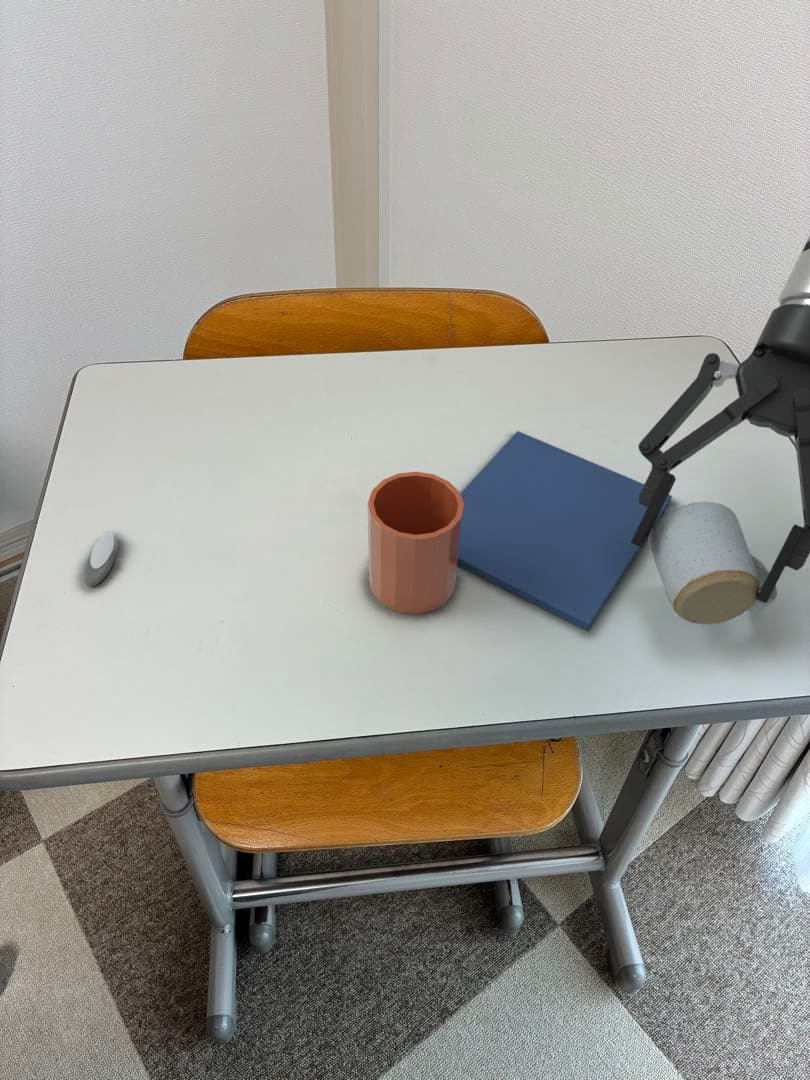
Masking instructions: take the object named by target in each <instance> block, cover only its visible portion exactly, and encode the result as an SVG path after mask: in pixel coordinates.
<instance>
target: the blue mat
mask: <svg viewBox="0 0 810 1080" xmlns="http://www.w3.org/2000/svg"><path fill="white" fill-rule="evenodd" d="M644 484H645V483H642V482H640V481H638V480H635V479H633V478H630V477H628V476H626V475H623V474H621V473H618V472H616V471H614V470H612V469H609V468H606V467H605V466H602V465H600V464H597V463H595V462H593V461H590V460H588V459H585V458H583V457H580V456H578V455H576V454H573V453H571V452H569V451H567V450H564V449H563V448H559V447H557V446H554V445H552V444H550V443H548V442H545V441H543V440H540V439H538V438H536V437H533V436H531V435H528V434H527V433H524V432H521V431H519V430H517V431H516V432H515V433H514V434H513V435H512V436H511V438H509V440H508V441H506V443H505V444H504V445H502V447H501V448H500V450H498V452H497V453H495V455H494V456H493V457H492V458H491V459H490V460H489V461H488V462H487V464H486V465H485V466H484V467H483V468H482V469H481V470H480V471H479V472H478V474H477V475H476V476H475V477H474V478H473V479H472V480H471V481H470V482H469V483H468V484H467V485H466V486H465V488H464V489H463V490H462V491H460V494H461V497H462V500H463V503H464V512H463V522H462V531H461V540H460V549H459V558H458V567H461V568H462V569H465V570H467V571H468V572H471V573H472V574H474V575H476V576H478V577H480V578H482V579H483V580H486V581H488V582H490V583H492V584H494V585H495V586H498V587H499V588H502V589H504V590H506V591H508V592H510V593H512V594H514V595H516V596H517V597H520V598H522V599H523V600H525V601H527V602H530V603H531V604H534V605H535V606H537V607H539V608H541V609H543V610H545V611H547V612H549V613H551V614H553V615H555V616H557V617H559V618H560V619H563V620H565V621H567V622H569V623H571V624H573V625H575V626H576V627H579V628H580V629H582V630H584V631H588V630H589V629H590V627H591V625H593V622H594V621H595V620H596V618H597V617H598V615H599V613H600V612H601V610H602V609H603V608H604V606H605V604H606V603H607V601H608V599H609V598H610V596H611V595H612V593H613V592H614V590H615V589H616V587H617V586H618V584H619V582H620V581H621V579H622V578H623V576H624V574H626V572H627V570H628V569H629V567H630V565H631V564H632V562H633V561H634V559H635V557H636V556H637V555H638V553H639V551H640V550H641V547H639V546H637V545H634V544H633V543H631V541H632V539H633V537H634V535H635V533H636V531H637V529H638V526H639V524H640V522H641V520H642V518H643V516H644V514H645V512H646V510H647V508H648V507H646V506H644V505H642V504H640V503H639V495H640V493H641V491H642V488H643V486H644ZM672 498H673V496H672V495H671V494H669V495H668V497H667V499H666V501H665V503H664V505H663V507H662V509H661V511H660V513H659V515H658V517H657V519H656V521H655V523H654V525H655V524H656V522H657V521H658V520H659V519H660V518H661V517H662V516H663V514H664V512H665V511H666V510H667V508H668V507H669V505H670V503H671V500H672ZM654 525H653V526H654Z"/></svg>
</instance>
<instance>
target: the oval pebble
mask: <svg viewBox="0 0 810 1080" xmlns="http://www.w3.org/2000/svg"><path fill="white" fill-rule="evenodd" d="M117 541H118V540H117V538H116V536H115V533H114V532H113V531H112V530H107V531H105V532H103V533H102V535H101V536H100V537H99V539H98V540H97V541H96V543H95V544H94V546H93V548H92V551H91V553H90V555H89V556H88V558H87V560H86V564H85V569H84V579H85V582H86V585H88V586H90V587H95V586H98V584H100V583H101V582H102V581H103V580H104V579H105V577H106V576H107V575H108V573H109V572H110V570H111V569H112V567H113V565H114V562H115V558H116V554H117V547H118V542H117Z"/></svg>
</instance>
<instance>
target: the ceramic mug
mask: <svg viewBox="0 0 810 1080" xmlns="http://www.w3.org/2000/svg"><path fill="white" fill-rule="evenodd" d="M648 547H649V550H650V552H651V555H652V558H653V560H654V563H655V566H656V570H657V572H658V575H659V577H660V580H661V582H662V585H663V589H664V592H665V595H666V597H667V600H668V602H669V604H670V606H671V607H672V609H673V610H674V612H675V613H676V614H677V616H679V617H680V618H681V619H682V620H684V621H687V622H690V623H692V624H699V625H713V624H721V623H724V622H727V621H731V620H734V619H735V618H738V617H739V616H741V615H743V614H744V613H745V612H747V611H750V612H760V611H763V610H766V609H767V608H768V607H769V606H771V605H772V604H773V603H774V602H775V601H776V599H777V597H778V587H777V584H776V585H775V587H774V589H773V591H772V593H771V595H770V597H769V599H768V601H767V603H764V602H762V601H759V600H757V597H758V595H759V592H760V590H761V588H762V586H763V584H764V582H765V580H766V578H767V576H768V574H769V572H770V570H769V569H768V568H767V567H766V566H765V565H764V563H763V562H761V561H760V560H759V559H758V558H757V557H756V556H754V555H753V554H751V553H750V550H749V546H748V544H747V540H746V538H745V535H744V533H743V529H742V526H741V523H740V522H739V519H738V517H737V515H736V514H735V512H734V511H733V510H732V509H731V508H730V507H728V506H726V505H724V504H722V503H720V502H719V503H718V502H713V501H699V502H698V501H697V502H692V503H688V504H684V505H680V506H678V507H676V508H674V509H672V510H670V511H668V512H667V513H665V514H664V515H662V516H661V517H660V519H659V520H658V521H657V522H656V524H655V525H654V526H653V528H652V530H651V532H650V534H649V536H648Z"/></svg>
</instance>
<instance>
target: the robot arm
mask: <svg viewBox="0 0 810 1080" xmlns="http://www.w3.org/2000/svg"><path fill="white" fill-rule="evenodd" d="M794 263H795V264H794V266H793V268H792V270H791V272H790V274H789V276H788V277H787V281H786V282H785V284H784V286H783V288H782V291H781V293H780V295H779V297H778V304H779V306H778V307H775V308H774V309H773V310H772V311H771V313H770V315H769V317H768V319H767V321H766V323H765V325H764V327H763V330H762V331H761V332H760V335H759V337H758V339H757V342H756V344H755V346H754V348H753V350H752V352H751V353H750V355H749V356H748V357H747V358H745V360H743V361H742V362H741V363H736V362H732V361H729V360H726V359H722V358H720V356H719V354H717V353H715V352H711V353H708V354H707V355H706V356H705V357H704V359H703V362H702V364H701V367H700V369H699V372H698V374H697V377H696V378H695V379H694V380H693V382H692V383H691V384H690V385H689V386H688V387H687V388H686V389H685V391H684V392H683V393H682V394H681V395H680V396H679V397H678V399H676V401H675V402H674V403H673V404H672V405H671V407H670V408H669V409H668V410H667V411H666V412H665V413H664V414H663V415H662V416H661V418H660V419H659V420H658V421H657V422H656V424H654V426H653V427H652V428H651V429H650V430H649V431H648V433H647V434H646V435H645V436H644V437H643V438H642V439H641V441H639V444H638V446H637V447H638V451H639V452H640V454H641V455H642V456H643V458H645V459H646V460H647V461H648V462H649V463H650V464H651V469H650V472H649V474H648V476H647V478H646V479H645V482H644V483H643V484H644V486H643V488H642V491H641V493H640V495H639V503H640V504H642V505H644V506H646V507H648V508H647V510H646V512H645V514H644V516H643V518H642V520H641V522H640V524H639V526H638V529H637V531H636V533H635V535H634V537H633V539H632V541H631V543H633V544H634V545H637V546H639V547H641V548H642V549H643V548H644V546H645V544H646V542H647V540H648V539H649V536H650V532H651V530H652V528H653V525H654V523H655V521H656V519H657V517H658V515H659V513H660V511H661V509H662V507H663V505H664V503H665V501H666V499H667V497H668V495H670V493H671V490H672V489H673V487H674V485H675V482H676V481H677V478H676V477H675V475H674V474H672V473H670V472H671V471H672V470H674V469H675V468H677V467H678V466H679V465H681V464H682V463H684V462H686V461H687V460H688V459H689V458H691V457H692V456H694V455H695V454H697V453H698V452H700V451H701V450H702V449H704V448H705V447H707V446H709V444H711V443H712V442H714V441H716V440H717V439H718V438H719V437H721V436H722V435H724V434H725V433H727V432H729V430H731V429H732V428H735V427H737V426H738V425H740V424H741V423H743V422H744V421H746V420H747V421H748V422H749V424H750V425H753V426H756V427H759V428H767V429H771V430H772V431H773V432H775V433H776V434H778V435H780V436H783V437H786V438H788V437H794V445H795V451H796V460H797V468H798V477H799V485H800V486H799V488H800V495H801V496H800V497H801V506H802V516H803V527H802V526H800V525H798V524H794V525H792V526H791V529H790V531H789V533H788V535H787V537H786V539H785V541H784V543H783V544H782V547H781V549H780V551H779V552H778V554H777V557H776V559H775V561H774V562H773V565H772V567H771V568H770V570H769V574H768V576H767V578H766V580H765V582H764V584H763V586H762V588H761V590H759V595H758V597H757V600H759V601H762V602H764V603H767V601H768V599H769V597H770V595H771V593H772V591H773V589H774V587H775V585H776V586H777V583H778V582H779V579H780V577H781V575H782V574H783V572H784V570H785V568H786V567H787V568H789V569H791V570H794V571H796V572H797V571H799V570H800V569H802V567H804V566H805V563H806V562H807V559H808V557H809V556H810V235H809V237H808V239H807V241H806V243H805V244H804V246H803V248H802V251H801V253H800V254H799V256H798V257H797V259H796V262H794ZM729 379H734V380H735V383H736V389H737V393H738V398H737V399H735V400H734V401H732V402H730V403H729V404H728V405H727V406H725V407H724V408H723V409H722V410H721V411H720V412H719V413H717V414H716V415H714V416H713V417H711V418H710V419H709V420H707V421H706V422H704V423H703V424H701V425H700V426H699V427H697V428H696V429H695V430H693V431H692V432H690V433H688V434H687V435H686V436H685V437H683V438H681V439H680V440H679V441H678V442H676V443H675V444H673V445H672V446H670V448H668V449H666V450H665V451H664V452H663V451H662V450H661V448H663V446H665V444H666V443H667V442H668V441H669V439H671V437H672V436H673V435H674V434H675V433H676V432H677V430H679V428H680V427H681V426H682V425H683V424H684V422H685V421H686V420H687V419H688V418H689V417H690V416H691V415H692V413H694V411H695V410H696V409H697V408H698V407H699V406H700V405H701V404H702V402H703V401H704V400H705V399H706V398H707V396H708V395H709V394H710V393H711V392H712V390H713V387H715V388H717V387H722V385H724V384H725V382H726V381H727V380H729ZM641 548H640V549H641Z"/></svg>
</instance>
